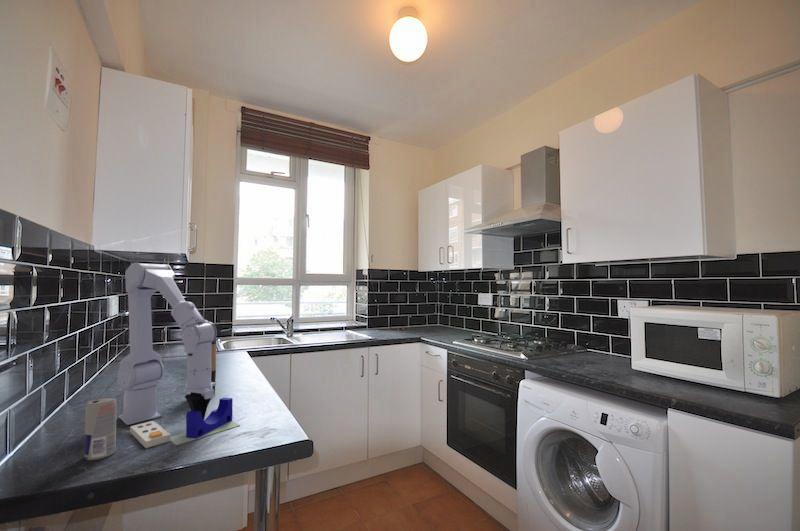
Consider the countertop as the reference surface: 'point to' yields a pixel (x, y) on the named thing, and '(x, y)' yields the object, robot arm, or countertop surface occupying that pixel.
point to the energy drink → (100, 428)
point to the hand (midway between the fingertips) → (198, 421)
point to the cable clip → (208, 419)
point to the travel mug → (213, 363)
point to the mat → (182, 437)
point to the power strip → (150, 434)
